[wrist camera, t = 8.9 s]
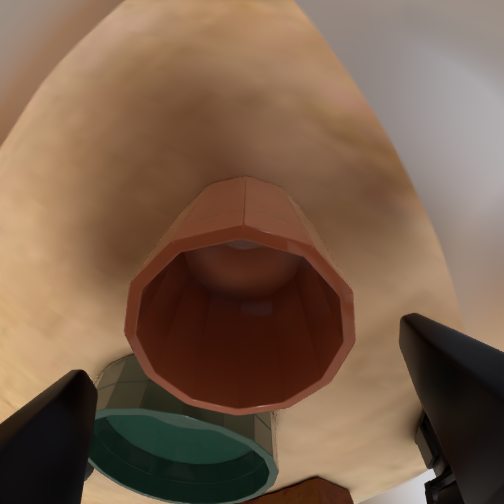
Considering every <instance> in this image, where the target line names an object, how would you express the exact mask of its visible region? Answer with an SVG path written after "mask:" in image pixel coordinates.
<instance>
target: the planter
mask: <svg viewBox="0 0 504 504" xmlns="http://www.w3.org/2000/svg"><path fill="white" fill-rule="evenodd" d="M94 385H95V387H96V388H97V391H98V400H97V407H96V415H95V423H94V431H93V438H92V443H91V448H90V453H89V458H88V462H89V463H90V464H91V465H92V466H93V467H94V468H95V469H96V470H97V471H99V472H100V473H101V474H103V475H104V476H106V477H107V478H109V479H110V480H112V481H114V482H115V483H117V484H119V485H120V486H123V487H125V488H127V489H129V490H131V491H134V492H136V493H138V494H141V495H143V496H147V497H150V498H153V499H157V500H160V501H164V502H168V503H175V504H235V503H240V502H244V501H246V500H249V499H252V498H254V497H257V496H260V495H261V494H263V493H264V492H265V491H266V490H268V489H269V488H270V487H271V486H273V485H274V483H275V480H276V478H277V475H278V472H279V467H278V454H277V441H276V429H275V422H274V417H273V412H272V411H268V412H261V413H254V414H247V415H231V414H227V413H222V412H217V411H212V410H208V409H204V408H199V407H195V406H191V405H188V404H186V403H184V402H183V401H181V400H180V399H178V398H177V397H175V396H174V395H173V394H171V393H170V392H168V391H167V390H165V389H164V388H162V387H161V386H160V385H158V384H157V383H156V382H154V381H153V380H151V379H150V378H149V377H148V376H147V375H146V374H145V372H144V370H143V369H142V367H141V365H140V363H139V361H138V359H137V358H136V356H135V355H131V356H127V357H124V358H121V359H119V360H117V361H115V362H113V363H112V364H110V365H109V366H108V367H106V368H105V370H104V371H103V372H102V373H101V375H100V376H99V378H98V380H97V381H96V382H95V384H94Z"/></svg>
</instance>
